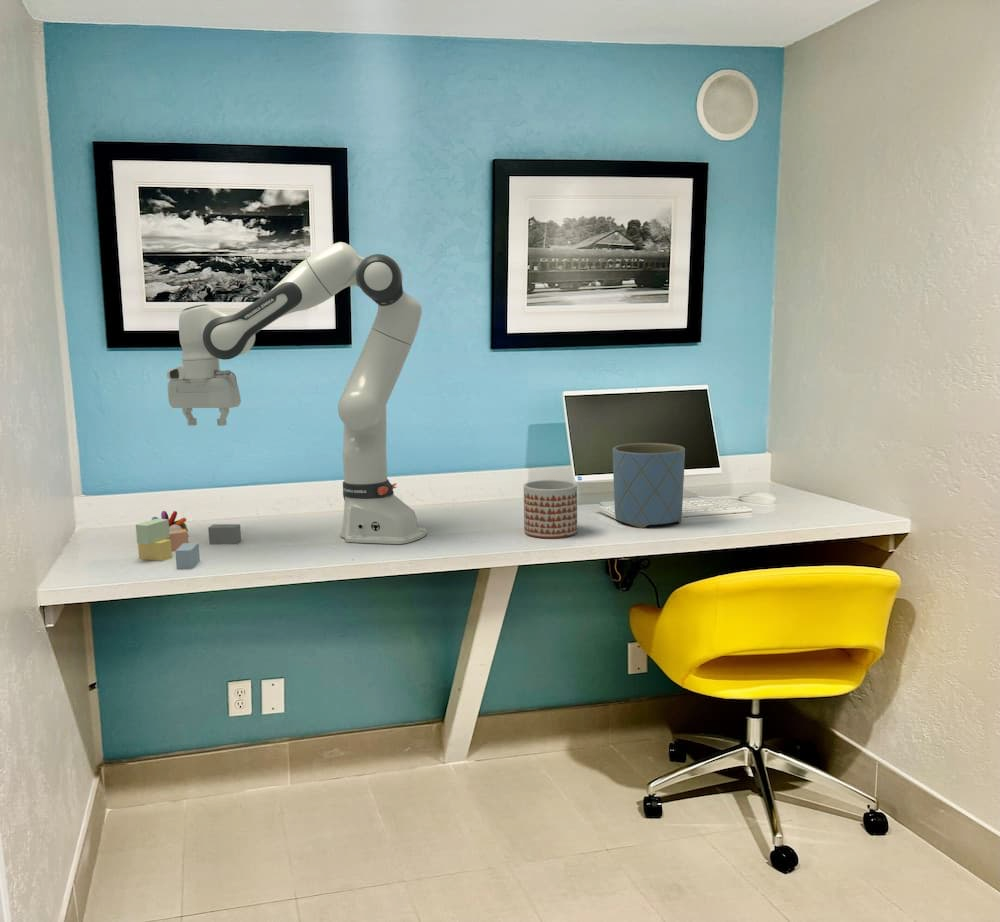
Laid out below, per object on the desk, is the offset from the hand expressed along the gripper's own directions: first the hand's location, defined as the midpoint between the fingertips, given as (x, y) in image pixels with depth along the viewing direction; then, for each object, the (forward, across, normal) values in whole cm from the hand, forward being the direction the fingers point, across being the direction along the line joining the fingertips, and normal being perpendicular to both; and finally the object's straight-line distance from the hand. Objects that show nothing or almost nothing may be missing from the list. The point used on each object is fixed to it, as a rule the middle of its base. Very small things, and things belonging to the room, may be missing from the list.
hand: (207, 425), depth 241 cm
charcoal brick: (+30, -4, +2) cm, 30 cm away
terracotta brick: (+30, +5, +12) cm, 32 cm away
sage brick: (+25, +3, +20) cm, 32 cm away
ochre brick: (+30, +3, +20) cm, 36 cm away
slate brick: (+30, -9, +22) cm, 38 cm away
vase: (+33, -78, -35) cm, 92 cm away
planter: (+34, -98, -56) cm, 118 cm away
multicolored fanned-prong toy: (+30, +14, +2) cm, 33 cm away
